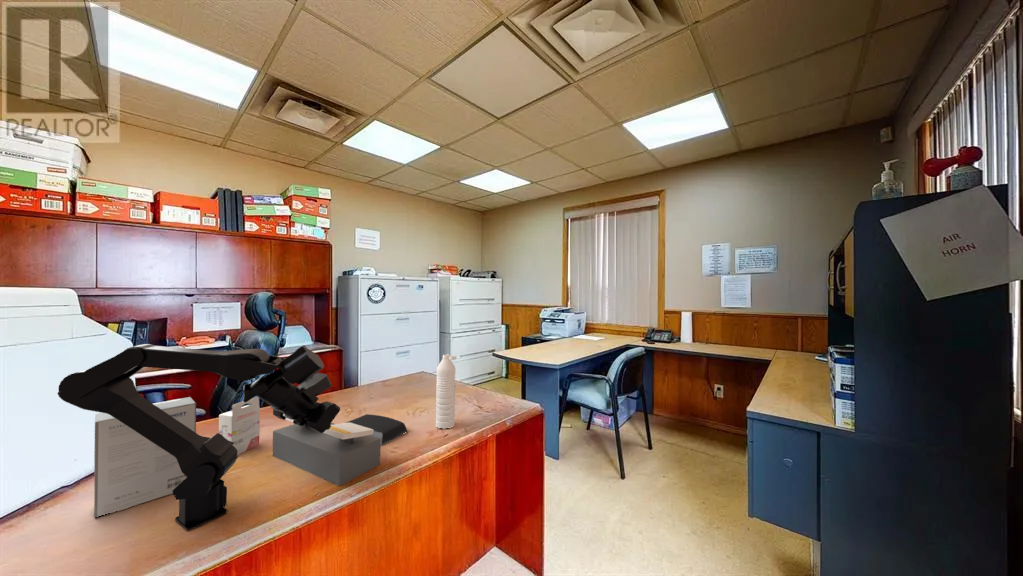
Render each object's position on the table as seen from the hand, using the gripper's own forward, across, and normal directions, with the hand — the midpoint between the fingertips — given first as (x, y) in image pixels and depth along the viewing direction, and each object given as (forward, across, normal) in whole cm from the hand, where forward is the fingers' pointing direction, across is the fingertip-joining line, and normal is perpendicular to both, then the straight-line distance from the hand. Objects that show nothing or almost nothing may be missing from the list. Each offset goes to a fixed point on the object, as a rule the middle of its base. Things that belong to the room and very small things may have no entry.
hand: (329, 427), depth 85 cm
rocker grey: (+5, +18, -2) cm, 19 cm away
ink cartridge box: (+6, +36, +12) cm, 38 cm away
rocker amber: (+5, 0, -2) cm, 6 cm away
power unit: (+12, +9, +5) cm, 16 cm away
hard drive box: (-9, +28, +27) cm, 40 cm away
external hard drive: (+26, +13, -7) cm, 30 cm away
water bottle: (+37, -5, -19) cm, 42 cm away
